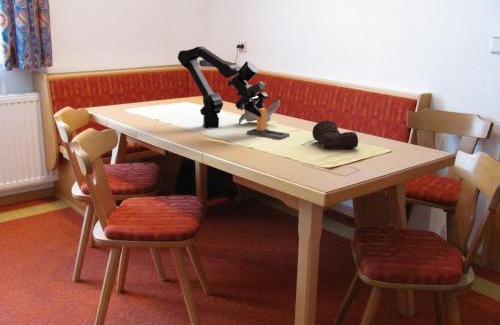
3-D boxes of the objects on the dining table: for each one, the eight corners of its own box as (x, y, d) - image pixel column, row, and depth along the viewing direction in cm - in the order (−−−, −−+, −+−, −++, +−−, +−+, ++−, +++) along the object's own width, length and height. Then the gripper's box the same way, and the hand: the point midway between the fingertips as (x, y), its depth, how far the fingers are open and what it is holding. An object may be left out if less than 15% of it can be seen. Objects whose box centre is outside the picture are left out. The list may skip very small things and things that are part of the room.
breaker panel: (243, 136, 211) (243, 131, 210) (257, 131, 220) (257, 127, 220) (279, 142, 201) (279, 138, 201) (292, 137, 211) (292, 132, 211)
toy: (237, 126, 232) (278, 127, 228) (236, 94, 228) (278, 95, 224) (241, 122, 240) (281, 123, 236) (240, 91, 236) (281, 92, 232)
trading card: (344, 175, 160) (301, 164, 172) (344, 177, 160) (301, 165, 172) (360, 169, 168) (318, 158, 179) (360, 170, 168) (318, 160, 180)
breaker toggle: (254, 133, 212) (255, 109, 208) (260, 132, 215) (260, 107, 212) (262, 135, 210) (263, 110, 206) (267, 133, 213) (268, 108, 210)
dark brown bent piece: (360, 132, 190) (347, 118, 203) (323, 135, 188) (312, 121, 201) (357, 154, 194) (345, 139, 208) (322, 157, 192) (311, 142, 205)
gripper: (242, 77, 200) (263, 107, 198) (265, 74, 215) (285, 101, 213) (226, 94, 206) (247, 123, 204) (249, 90, 221) (269, 116, 219)
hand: (263, 115), depth 210 cm, fingers closed on breaker toggle, 4 cm apart
